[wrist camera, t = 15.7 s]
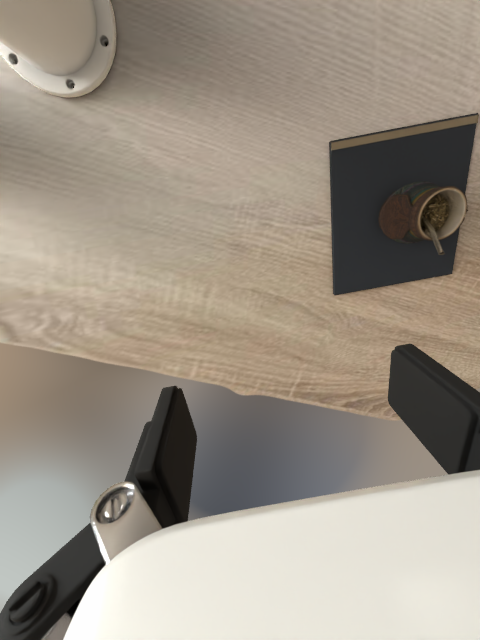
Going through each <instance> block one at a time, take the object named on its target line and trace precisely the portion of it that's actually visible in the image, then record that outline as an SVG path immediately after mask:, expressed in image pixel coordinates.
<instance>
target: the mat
mask: <svg viewBox="0 0 480 640" xmlns="http://www.w3.org/2000/svg"><path fill="white" fill-rule="evenodd" d="M478 116H479V115H478V113H476V114H470V115H465V116H460V117H455V118H449V119H444V120H439V121H434V122H428V123H423V124H418V125H413V126H407V127H402V128H397V129H392V130H387V131H381V132H376V133H371V134H366V135H360V136H355V137H350V138H345V139H339V140H334V141H331V142H329V147H330V185H331V222H332V259H333V294H334V295H339V294H344V293H350V292H355V291H361V290H366V289H372V288H377V287H383V286H388V285H393V284H399V283H404V282H410V281H415V280H421V279H426V278H432V277H437V276H443V275H448V274H452V271H453V265H454V258H455V252H456V246H457V240H458V234H459V228H460V227H459V228H458V229H457V230H456V231H455V232H454V233H453V234H452V235H450V236H449V237H447V238H445V239H442V240H439V242H440V244H441V247H442V250H443V251H444V253H445V254H443V255H439V254H438V252H437V249H436V247H435V245H434V242H433V241H428V240H423V241H420V242H417V243H410V244H403V243H399V242H396V241H394V240H392V239H390V238H388V237H387V236H386V235H385V234H384V233H383V231H382V229H381V228H380V226H379V221H378V218H379V212H380V209H381V207H382V205H383V203H384V202H385V201H386V199H387V198H388V197H389V196H390V195H391V194H392V193H393V192H395V191H396V190H398V189H400V188H401V187H404V186H406V185H408V184H410V183H414V182H424V181H426V182H430V183H434V184H436V185H438V186H440V187H446V186H454V187H457V188H459V189H460V190H461V191H463V193H464V194H465V191H466V185H467V178H468V172H469V166H470V160H471V154H472V148H473V142H474V135H475V129H476V123H478Z"/></svg>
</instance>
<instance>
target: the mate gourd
mask: <svg viewBox="0 0 480 640" xmlns="http://www.w3.org/2000/svg"><path fill="white" fill-rule="evenodd" d="M467 211H468V210H467V199H466V196H465V194H464V193H463V191H461V190H460V189H459V188H457V187H454V186H446V187H440V186H438V185H436V184H434V183H430V182H426V181H424V182H414V183H410V184H408V185H406V186H404V187H401V188H400V189H398V190H396V191H395V192H393V193H392V194H391V195H390V196H389V197H388V198H387V199H386V201H385V202H384V203H383V205H382V207H381V209H380V212H379V218H378V221H379V226H380V228H381V229H382V231H383V233H384V234H385V235H386V236H387V237H388V238H390V239H392V240H394V241H396V242H399V243H403V244H410V243H417V242H420V241H423V240H428V241H433V242H434V245H435V247H436V249H437V252H438V254H439V255H443V254H445V253H444V251H443V250H442V247H441V244H440V242H439V240H442V239H445V238H447V237H449V236H450V235H452V234H453V233H454V232H455V231H456V230H457V229H458V228H459V227H460V225H461V224H462V222H463V221H464V219H465V218H464V217H465V214H466V212H467Z"/></svg>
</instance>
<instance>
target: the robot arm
mask: <svg viewBox="0 0 480 640" xmlns="http://www.w3.org/2000/svg"><path fill="white" fill-rule="evenodd" d="M116 39H117V38H116V22H115V17H114V12H113V7H112V4H111V1H110V0H0V55H1V56H2V57H3V59H4V60H5V61H6V62H7V63H8V64H9V66H10V67H11V68H12V69H13V70H14V71H15V72H16V73H18V74H19V75H20V76H21V77H22V78H23V79H25V80H26V81H27V82H29V83H30V84H32V85H33V86H35V87H37V88H39V89H40V90H42V91H44V92H46V93H49V94H52V95H55V96H58V97H68V98H71V97H79V96H82V95H85V94H87V93H90V92H91V91H93V90H94V89H95V88H97V87H98V86H99V85H100V84H101V83H102V81H103V80H104V79H105V78H106V76H107V74H108V72H109V70H110V68H111V66H112V63H113V59H114V55H115V49H116ZM107 43H109V44H108V46H106V44H107ZM73 85H75V87H74V89H73ZM388 401H389V404H390V406H391V407H392V408H393V410H394V411H395V412H396V413H397V414H398V415H399V417H400V418H401V419H402V420H403V421H404V423H405V424H406V425H407V426H408V427H409V428H410V430H411V431H412V432H413V433H414V434H415V435H416V437H417V438H418V439H419V440H420V441H421V443H422V444H423V445H424V446H425V447H426V449H427V450H428V451H429V452H430V453H431V454H432V455H433V457H434V458H435V459H436V460H437V462H438V463H439V464H440V465H441V466H442V467H443V469H444V470H445V471H446V472H447V473H448V474H449V475H443V476H437V477H431V478H425V479H419V480H413V481H407V482H401V483H395V484H389V485H383V486H377V487H371V488H366V489H360V490H353V491H348V492H343V493H336V494H330V495H324V496H319V497H313V498H307V499H301V500H296V501H290V502H285V503H279V504H273V505H268V506H263V507H257V508H251V509H245V510H240V511H235V512H230V513H225V514H220V515H214V516H209V517H204V518H199V519H195V520H191V521H188V512H189V504H190V496H191V487H192V486H191V485H192V478H193V469H194V461H195V452H196V443H197V435H196V431H195V428H194V425H193V422H192V418H191V416H190V412H189V409H188V406H187V403H186V400H185V397H184V394H183V391H182V389H181V388H179V389H178V388H177V387H176V386H171V387H166V388H163V389H162V391H161V394H160V397H159V400H158V403H157V406H156V409H155V412H154V415H153V418H152V421H150V422H147V423H146V424H145V426H144V429H143V432H142V435H141V437H140V440H139V443H138V446H137V448H136V452H135V454H134V457H133V459H132V462H131V465H130V468H129V471H128V474H127V476H126V479H125V482H120V483H117V484H114V485H113V486H111V487H110V488H108V489H107V490H106V491H105V492H103V493H102V494H101V495H100V497H99V498H98V499H97V500H96V502H95V504H94V506H93V508H92V510H91V514H90V523H89V524H88V525H87V526H86V527H85V528H84V529H83V530H81V531H80V532H79V533H78V534H77V535H76V536H75V537H74V538H72V540H70V541H69V542H68V543H67V544H66V545H65V546H63V547H62V548H61V549H60V550H59V551H58V552H57V553H56V554H54V555H53V556H52V557H51V558H50V559H49V560H48V561H46V562H45V563H44V564H43V565H42V566H41V567H40V568H39V569H37V570H36V571H35V572H34V573H33V574H32V575H31V576H30V577H28V578H27V579H26V580H25V581H24V582H23V583H22V584H21V585H20V586H19V587H18V588H17V589H16V590H15V592H14V593H13V594H12V596H11V597H10V598H9V599H8V601H7V602H6V604H5V606H4V608H3V610H2V611H1V613H0V640H480V392H478V391H477V390H475V389H474V388H473V387H471V386H470V385H468V384H467V383H466V382H464V381H463V380H462V379H460V378H459V377H457V376H456V375H455V374H453V373H452V372H450V371H449V370H448V369H446V368H445V367H443V366H442V365H441V364H439V363H438V362H436V361H435V360H434V359H432V358H431V357H429V356H428V355H427V354H425V353H424V352H423V351H421V350H420V349H418V348H417V347H416V346H414V345H412V344H406V345H400V346H396V347H395V350H393V351H392V353H391V365H390V378H389V391H388Z"/></svg>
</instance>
